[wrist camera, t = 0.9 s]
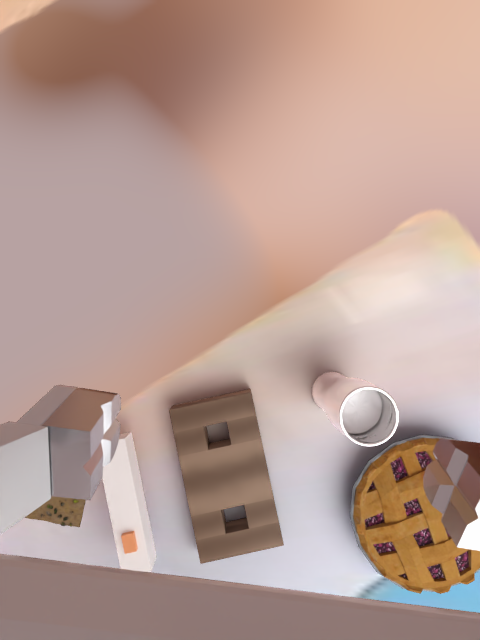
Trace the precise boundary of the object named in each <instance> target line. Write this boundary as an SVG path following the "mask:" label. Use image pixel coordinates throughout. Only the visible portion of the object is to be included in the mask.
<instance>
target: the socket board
mask: <svg viewBox="0 0 480 640" xmlns="http://www.w3.org/2000/svg"><path fill="white" fill-rule="evenodd" d="M169 413H170V418H171V423H172V427H173V432H174V437H175V442H176V447H177V452H178V456H179V461H180V466H181V471H182V476H183V481H184V486H185V490H186V495H187V500H188V505H189V510H190V515H191V519H192V524H193V529H194V534H195V539H196V544H197V549H198V553H199V558H200V563H201V564H202V563H206V562H211V561H215V560H220V559H224V558H229V557H233V556H238V555H242V554H247V553H251V552H256V551H260V550H265V549H269V548H274V547H278V546H283V545H284V544H283V540H282V535H281V530H280V526H279V521H278V516H277V511H276V507H275V502H274V497H273V493H272V488H271V483H270V479H269V474H268V469H267V465H266V460H265V455H264V450H263V446H262V441H261V436H260V432H259V427H258V422H257V418H256V413H255V408H254V403H253V399H252V394H251V389H247V390H243V391H238V392H233V393H229V394H224V395H219V396H215V397H210V398H206V399H201V400H196V401H192V402H187V403H182V404H178V405H173V406H172V407H171V408H170V410H169ZM222 422H227V426H228V431H229V436H230V439H227V440H222V441H218V442H213V443H210V442H209V437H208V432H207V427H206V426H208V425H213V424H217V423H222ZM241 505H244V507H245V512H246V516H247V518H242V519H238V520H233V521H229V522H226V518H225V513H224V509H228V508H232V507H237V506H241Z"/></svg>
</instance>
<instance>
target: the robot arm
mask: <svg viewBox="0 0 480 640" xmlns="http://www.w3.org/2000/svg"><path fill="white" fill-rule="evenodd" d="M120 410H121V397H120V395H119V394H117V393H110V392H104V391H97V390H91V389H85V388H78V387H72V386H63V385H57V386H54V387H53V388H52V389H51V390H50V391H49V392H48V393H47V394H46V395H45V396H44V397H42V398H41V399H40V400H39V401H38V402H37V403H36V404H35V405H34V406H33V407H32V408H31V409H30V410H29V411H28V412H27V413H26V414H25V415H23V416H22V417H21V418H20V419H19V420H18V421H17V422H7V423H4V424H1V425H0V535H1V534H2V533H4V532H5V531H6V530H8V529H9V528H11V527H12V526H13V525H15V524H16V523H18V522H19V521H20V520H22V519H23V518H25V517H26V516H27V515H29V514H30V513H32V512H33V511H34V510H36V509H37V508H38V507H40V506H41V505H43V504H44V503H45V502H47V501H48V500H50V499H51V496H53V497H64V498H74V499H84V500H91V498H92V496H93V494H94V492H95V491H96V489H97V487H98V485H99V483H100V481H101V479H102V477H103V467H104V466H106V465H108V464H109V463H110V462H111V460H112V458H113V456H114V454H115V451H116V448H117V445H118V441H119V435H120V423H119V422H118V420H117V419H116V416H117V415H118V413H119V411H120ZM433 454H434V456H435V460H434V461H432V462H431V463H430V464H428V465H427V467H426V470H425V473H424V476H423V483H424V490H425V494H426V497H427V498H428V500H429V502H430V503H431V505H432V506H433V507H434V508H436V509H437V510H438V511H439V512H441V513H442V519H441V522H442V523H443V525H444V527H445V528H446V530H447V532H448V533H449V535H450V537H451V538H452V540H453V541H454V543H455V545H456V546H457V547H459V548H465V549H472V550H478V551H480V443H477V442H468V441H460V440H451V439H442V438H441V439H440V440H439V441H438V442H437V443H436V444H435V447H434V449H433ZM0 640H480V613H476V612H468V611H460V610H452V609H444V608H436V607H427V606H419V605H411V604H403V603H395V602H387V601H379V600H371V599H363V598H355V597H347V596H339V595H331V594H323V593H315V592H307V591H298V590H290V589H282V588H274V587H266V586H258V585H250V584H242V583H233V582H225V581H217V580H209V579H201V578H192V577H184V576H176V575H168V574H160V573H152V572H143V571H135V570H127V569H119V568H111V567H103V566H95V565H87V564H79V563H71V562H63V561H55V560H47V559H39V558H31V557H23V556H15V555H7V554H0Z"/></svg>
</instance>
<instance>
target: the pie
mask: <svg viewBox="0 0 480 640" xmlns="http://www.w3.org/2000/svg"><path fill="white" fill-rule="evenodd" d="M441 438H442V439H451V440H454V439H453V438H449V437H440V436H431V435H419V436H416V437H412V438H409V439H405V440H402V441H398V442H395V443H392V444H391V445H390V446H388V447H387V448H386V449H384V450H383V451H381V452H380V453H379V454H377V455H376V456H375V457H373V458H372V459H371V460H369V461H368V463H367V464H366V466H365V467H364V469H363V471H362V472H361V474H360V476H359V477H358V479H357V481H356V482H355V484H354V485H353V490H352V500H351V510H350V519H351V522H352V526H353V529H354V533H355V536H356V539H357V543H358V546H359V548H360V549H361V551H362V552H363V554H364V555H365V556H366V558H367V559H368V561H369V562H370V563H371V565H372V566H373V568H374V569H375V570H376V572H377V573H379V574H380V575H382V576H384V577H385V578H387V579H388V580H390V581H391V582H393V583H395V584H396V585H398V586H399V587H401V588H403V589H407V590H409V591H413V592H416V593H421V592H422V591H430V592H434V591H435V592H437V593H440V594H441V593H445V592H448V591H449V590H450V587H451V586H454V585H457V584H460V583H463V584H469V583H471V582H473V581H474V574H475V573H476V572H477V571H479V570H480V551H478V550H472V549H465V548H459V547H457V546H456V545H455V543H454V541H453V540H452V538H451V537H450V535H449V533H448V532H447V530H446V528H445V527H444V525H443V523H442V522H441V519H442V513H441V512H439V511H438V510H437V509H436V508H434V507H433V506H432V505H431V503H430V502H429V500H428V498H427V497H426V494H425V490H424V483H423V476H424V473H425V470H426V467H427V465H428V464H430V463H431V462H432V461H434V460H435V456H434V454H433V449H434V447H435V444H436V443H437V442H438V441H439V440H440V439H441Z"/></svg>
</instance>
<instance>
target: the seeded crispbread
mask: <svg viewBox="0 0 480 640" xmlns="http://www.w3.org/2000/svg"><path fill="white" fill-rule="evenodd" d="M84 505H85V500H84V499H74V498H64V497H53V496H51V499H50V500H48V501H47V502H45V503H44V504H43V505H41V506H40V507H38V508H37V509H36V510H34V511H33V512H32V513H30V514H29V515H27V516H26V517H25V518H29V519H37V520H45V521H48V522H53V523H56V524H60V525H62V526H65V525H68V526H76V527H80V523H81V519H82V514H83V509H84Z"/></svg>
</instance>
